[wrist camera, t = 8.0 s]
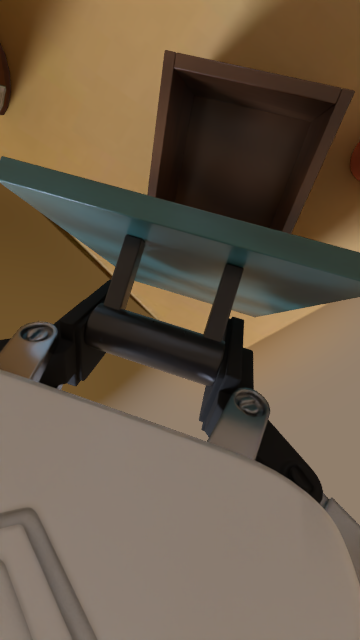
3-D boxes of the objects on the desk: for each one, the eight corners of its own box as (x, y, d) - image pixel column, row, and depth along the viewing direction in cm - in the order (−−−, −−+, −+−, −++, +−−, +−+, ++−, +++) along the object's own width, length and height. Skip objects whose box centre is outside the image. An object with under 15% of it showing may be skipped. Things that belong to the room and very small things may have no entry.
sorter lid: (0, 154, 8) (-51, 315, 8) (403, 263, 7) (346, 449, 7) (137, 273, 25) (121, 323, 25) (257, 309, 24) (241, 362, 24)
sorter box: (189, 84, 23) (164, 49, 17) (322, 114, 22) (355, 90, 15) (161, 252, 33) (137, 275, 26) (254, 279, 32) (256, 311, 25)
